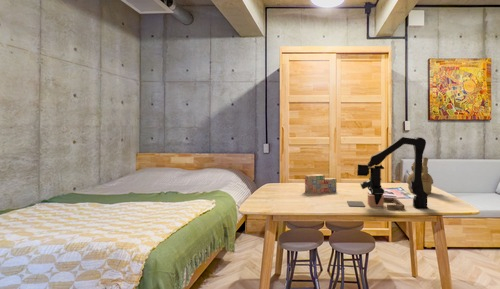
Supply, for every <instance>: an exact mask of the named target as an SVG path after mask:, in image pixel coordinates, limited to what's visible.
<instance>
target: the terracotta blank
mask: <svg viewBox="0 0 500 289" xmlns="http://www.w3.org/2000/svg"><path fill="white" fill-rule="evenodd" d="M384 203H385V202H384V194H383V195H382V197H381V199H380V201H379V203H378V205H377V204H376V203H375V197H374V195H373V194H371V193H367V205H368V206H369V207H384Z"/></svg>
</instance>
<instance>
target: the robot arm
mask: <svg viewBox="0 0 500 289" xmlns="http://www.w3.org/2000/svg"><path fill="white" fill-rule="evenodd" d="M403 145H408V146H409V145H411V146H413V150H414V160H413V163H414V177H413V180H410V186H409V187H410V188H411V190H412V192H413V193H412V192H411V193H412V194H414V196H413V199H412V206H413V207H414V208H415V209H429V207H428V197H429V196H428V195H429V194H427V193H426V192H425V191H423V190H424V189H423V183H422V163H423V158H424V156H423V154H424V152H425V148H426V145H427V142H426V139H425V138H424V137H420V136H417V137H415V138H412V137H405V136H401V137H400V138H399V139H397V140H396V141H395V142H393V143H391V144H390V145H388V146H387V147H386V148H385V149H383V150H381V151H379V152H376V153H374V154H372V155H371V157H370V160H369V162H368V163H367V164H361V163H360V164H359V163H358V164H357V176H358V177H367V176H369V175H370V177H369V178H368V179H367V180H365V181H364V180H363V181H361V182H360V183H359V184H360V188H361V189H362V190H365V189H368V190H369V192H370V194H373V195H374V197H375V203H376V204H377V205H378V203H379V201H380V199H381V197H382V195H383V196H384V194H385V190H384V188H382V185H381V184H382V183H381V182H382V178H381V177H382V176H381V175H382V173H381V172H382V171H381V170H384V169H385V167H384V166H383V165H382V162H383V161H385V159H386V158H387V157H388V156H389V155H390V154H391V155H392V153H393V152H395V151H396V150H398V149H400V148H401V147H402V146H403Z"/></svg>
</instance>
